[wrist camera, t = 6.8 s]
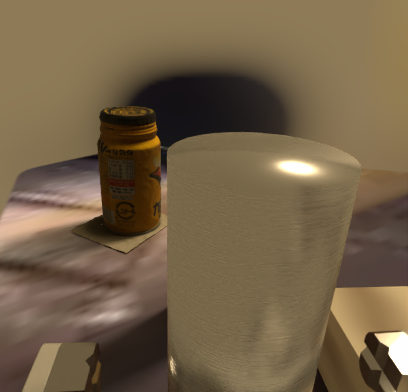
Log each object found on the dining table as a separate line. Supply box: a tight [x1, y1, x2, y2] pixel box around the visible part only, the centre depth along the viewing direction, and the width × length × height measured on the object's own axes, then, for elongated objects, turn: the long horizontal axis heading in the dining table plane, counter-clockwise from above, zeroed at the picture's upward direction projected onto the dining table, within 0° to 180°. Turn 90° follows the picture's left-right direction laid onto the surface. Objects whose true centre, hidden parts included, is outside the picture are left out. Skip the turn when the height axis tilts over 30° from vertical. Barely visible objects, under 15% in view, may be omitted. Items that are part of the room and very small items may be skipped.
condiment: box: [70, 106, 167, 253], centre depth 36 cm, size 7×8×12 cm
